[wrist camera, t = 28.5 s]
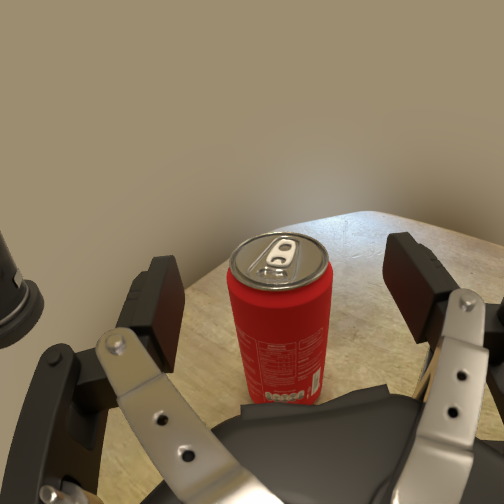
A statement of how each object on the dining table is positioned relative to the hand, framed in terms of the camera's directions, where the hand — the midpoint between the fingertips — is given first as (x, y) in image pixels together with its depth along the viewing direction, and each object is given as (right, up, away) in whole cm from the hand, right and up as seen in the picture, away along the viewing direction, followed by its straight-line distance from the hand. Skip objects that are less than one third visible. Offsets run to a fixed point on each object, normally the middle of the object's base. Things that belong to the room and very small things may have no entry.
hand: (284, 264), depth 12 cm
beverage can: (+1, -10, +10) cm, 14 cm away
